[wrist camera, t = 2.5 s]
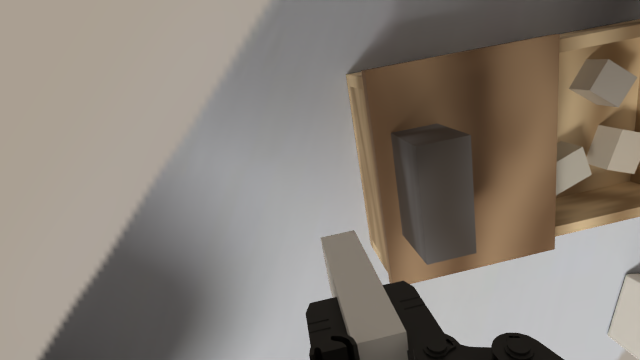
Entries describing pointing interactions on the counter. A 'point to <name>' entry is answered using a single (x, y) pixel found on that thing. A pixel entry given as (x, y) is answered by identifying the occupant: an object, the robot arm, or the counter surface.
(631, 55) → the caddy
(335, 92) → the counter surface
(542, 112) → the lid
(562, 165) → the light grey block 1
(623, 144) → the light grey block
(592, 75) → the light grey block
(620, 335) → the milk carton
